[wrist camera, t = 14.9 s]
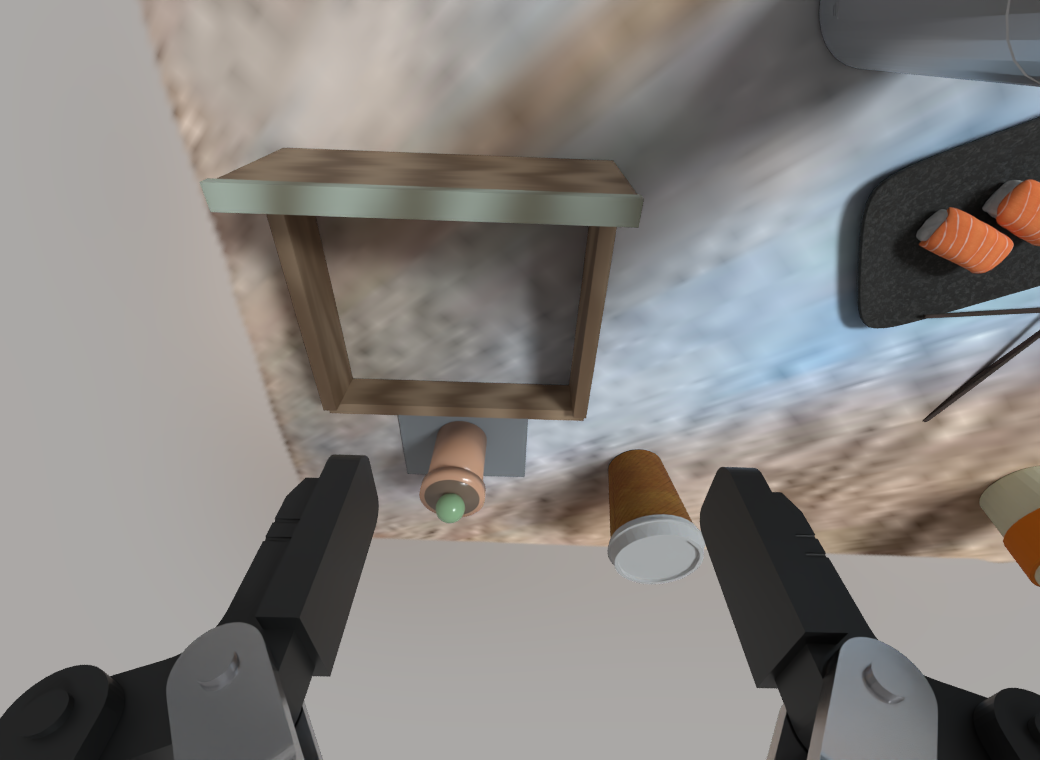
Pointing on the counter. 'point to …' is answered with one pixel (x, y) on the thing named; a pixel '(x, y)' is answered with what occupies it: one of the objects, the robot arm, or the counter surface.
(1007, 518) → the reusable coffee cup
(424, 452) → the slate mat
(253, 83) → the counter surface
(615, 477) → the disposable coffee cup
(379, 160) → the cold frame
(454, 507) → the terracotta pot
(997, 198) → the sushi plate
